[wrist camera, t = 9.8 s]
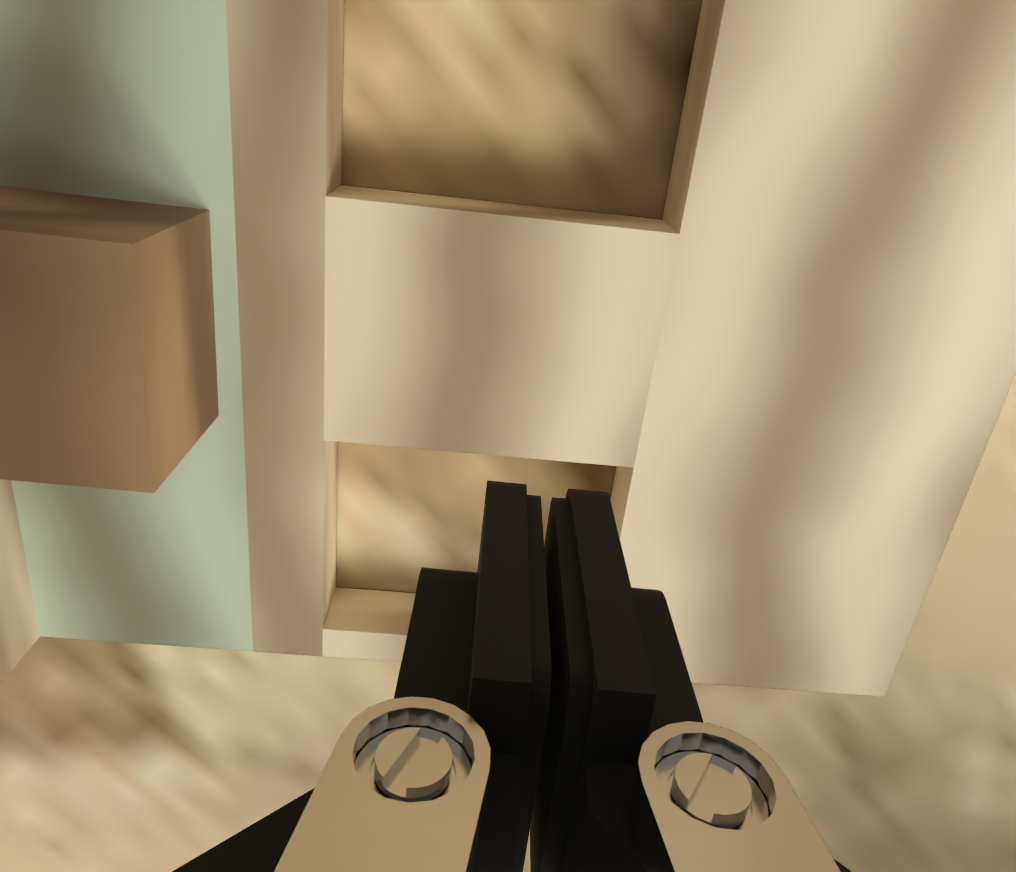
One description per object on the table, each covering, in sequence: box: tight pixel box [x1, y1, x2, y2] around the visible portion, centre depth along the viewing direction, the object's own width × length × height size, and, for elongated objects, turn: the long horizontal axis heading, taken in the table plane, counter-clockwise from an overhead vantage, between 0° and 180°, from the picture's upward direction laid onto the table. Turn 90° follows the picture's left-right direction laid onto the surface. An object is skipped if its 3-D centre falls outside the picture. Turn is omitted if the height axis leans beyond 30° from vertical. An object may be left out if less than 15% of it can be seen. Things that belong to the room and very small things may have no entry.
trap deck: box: [0, 0, 1016, 696], centre depth 18 cm, size 26×20×4 cm
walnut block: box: [0, 186, 219, 493], centre depth 16 cm, size 5×5×4 cm
